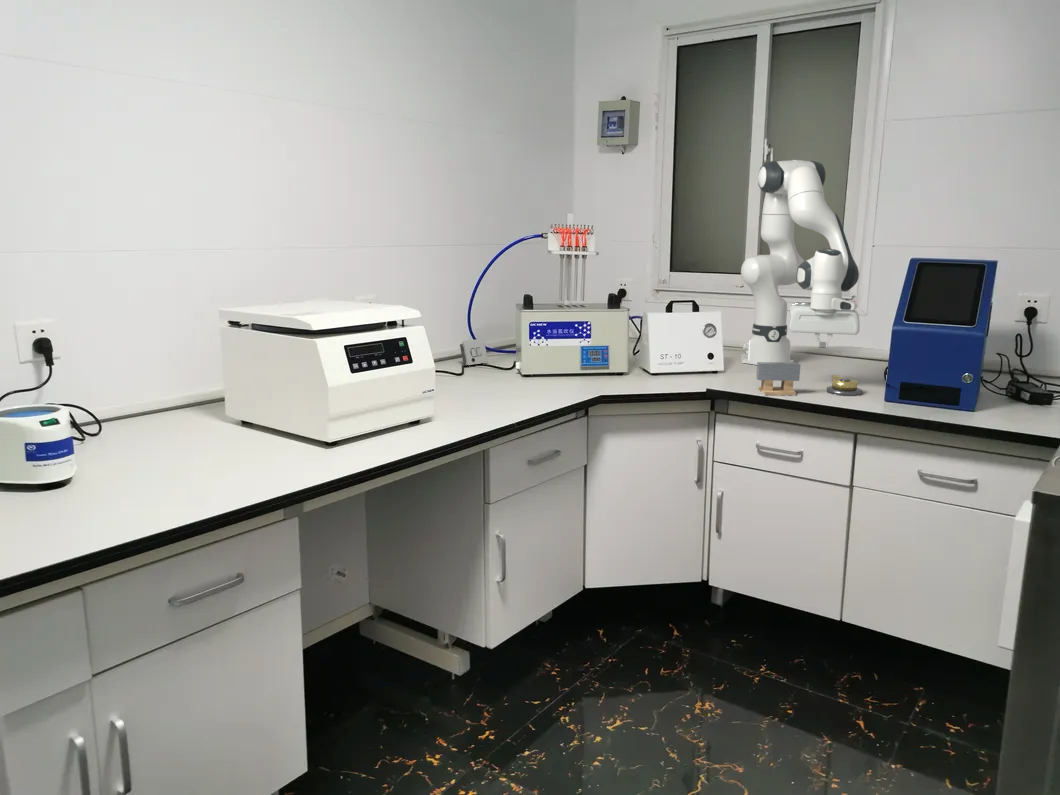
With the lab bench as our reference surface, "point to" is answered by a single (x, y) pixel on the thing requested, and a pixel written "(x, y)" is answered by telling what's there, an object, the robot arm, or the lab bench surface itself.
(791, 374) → the bar
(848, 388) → the gold curved piece
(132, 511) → the lab bench surface
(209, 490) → the lab bench surface
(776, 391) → the rack
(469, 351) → the electrical switch
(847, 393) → the nut base
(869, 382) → the lab bench surface
